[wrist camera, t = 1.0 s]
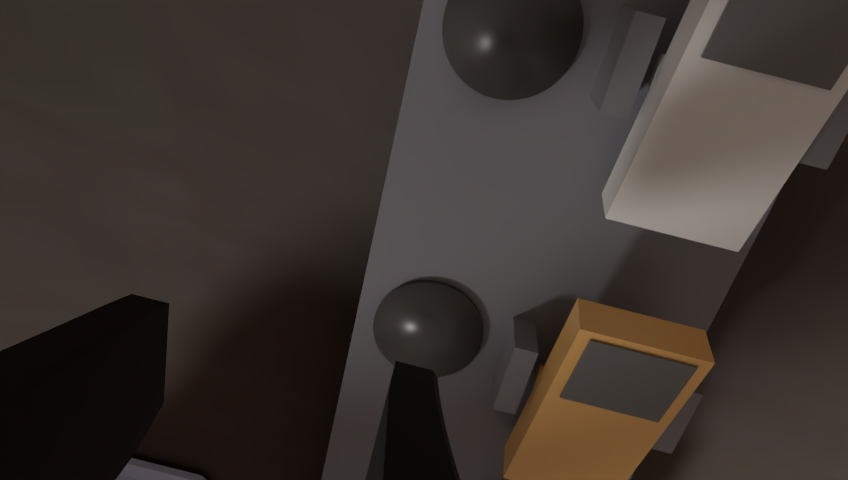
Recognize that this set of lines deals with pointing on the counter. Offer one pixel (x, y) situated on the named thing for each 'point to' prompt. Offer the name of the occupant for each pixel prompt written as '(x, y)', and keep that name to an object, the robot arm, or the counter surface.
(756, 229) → the power strip
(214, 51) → the counter surface
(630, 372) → the rocker middle
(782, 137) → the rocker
